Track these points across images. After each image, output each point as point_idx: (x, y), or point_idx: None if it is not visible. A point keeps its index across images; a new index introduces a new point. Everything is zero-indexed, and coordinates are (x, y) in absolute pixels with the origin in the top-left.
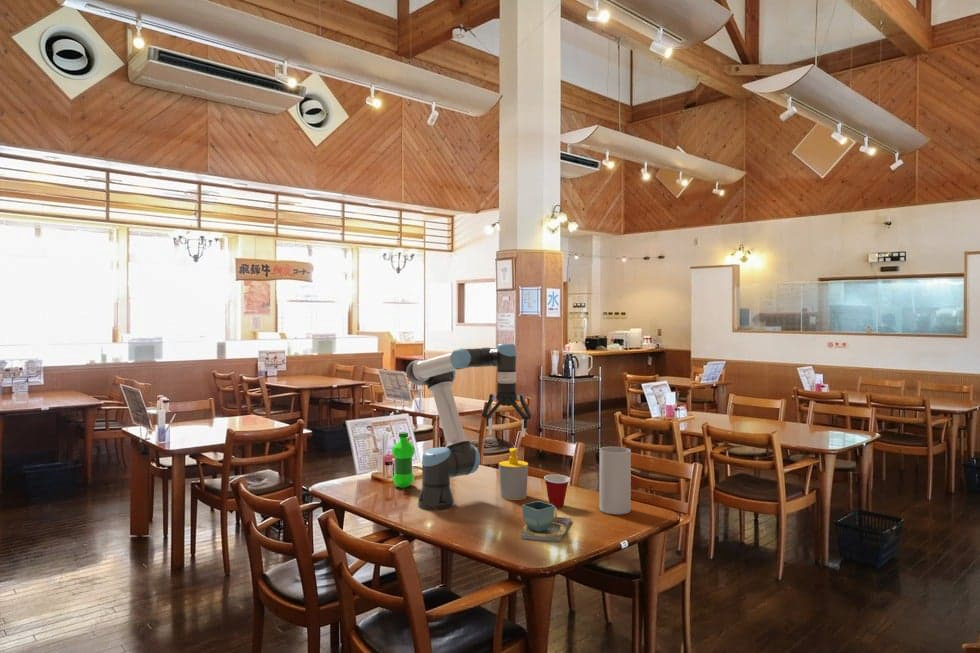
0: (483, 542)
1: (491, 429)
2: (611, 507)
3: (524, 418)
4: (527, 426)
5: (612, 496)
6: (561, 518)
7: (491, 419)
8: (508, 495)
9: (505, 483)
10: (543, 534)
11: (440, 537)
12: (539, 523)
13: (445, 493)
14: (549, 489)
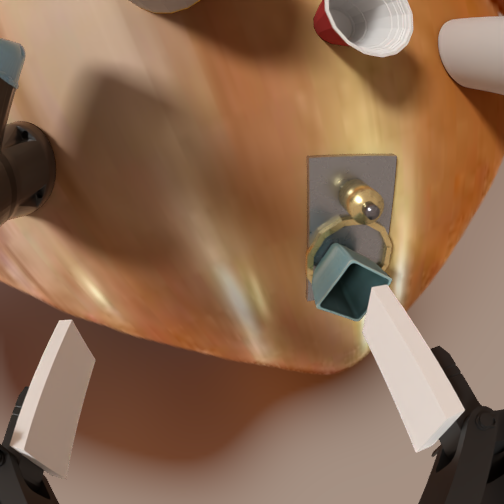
0: (244, 333)
1: (68, 370)
2: (471, 87)
3: (448, 458)
4: (448, 354)
5: (491, 91)
6: (376, 165)
7: (42, 452)
8: (164, 10)
9: (144, 2)
10: None
11: (161, 338)
12: (349, 296)
13: (28, 192)
14: (339, 40)
